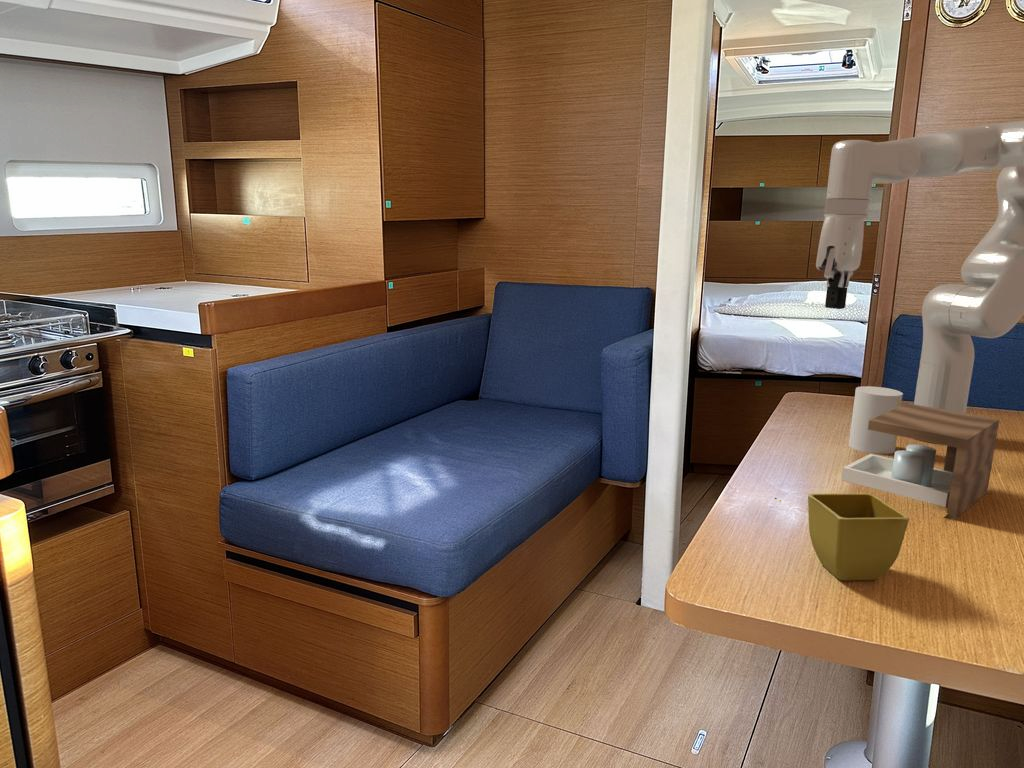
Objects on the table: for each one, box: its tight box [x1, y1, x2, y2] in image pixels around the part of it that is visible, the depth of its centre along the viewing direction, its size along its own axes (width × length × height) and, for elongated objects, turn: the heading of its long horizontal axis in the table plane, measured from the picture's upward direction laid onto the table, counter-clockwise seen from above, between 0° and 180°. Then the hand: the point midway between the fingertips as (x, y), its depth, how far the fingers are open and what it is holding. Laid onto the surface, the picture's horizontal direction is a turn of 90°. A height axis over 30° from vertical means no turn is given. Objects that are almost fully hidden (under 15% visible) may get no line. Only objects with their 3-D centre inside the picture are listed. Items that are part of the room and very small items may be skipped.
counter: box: [868, 402, 1000, 521], centre depth 124 cm, size 18×14×12 cm
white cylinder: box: [848, 385, 904, 455], centre depth 147 cm, size 8×8×12 cm
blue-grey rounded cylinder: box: [891, 450, 925, 485], centre depth 124 cm, size 4×4×6 cm
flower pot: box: [807, 492, 910, 581], centre depth 95 cm, size 9×9×9 cm
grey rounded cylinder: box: [905, 444, 937, 487], centre depth 128 cm, size 4×4×6 cm
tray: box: [840, 453, 953, 508], centre depth 127 cm, size 12×16×3 cm
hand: (834, 307), depth 147 cm, fingers closed
